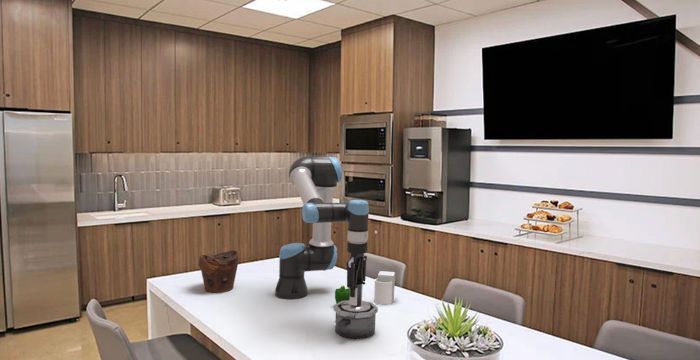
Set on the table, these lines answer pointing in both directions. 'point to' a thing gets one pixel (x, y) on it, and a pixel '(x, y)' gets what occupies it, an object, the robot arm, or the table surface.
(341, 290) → the bell pepper
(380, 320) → the table surface
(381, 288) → the cup
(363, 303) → the lid
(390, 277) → the supplement box
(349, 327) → the pot
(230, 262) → the chocolate muffin
